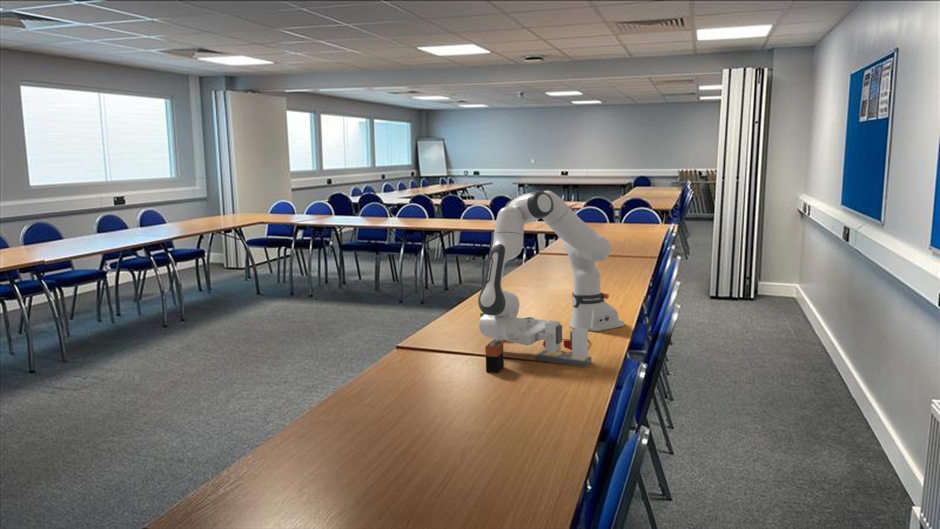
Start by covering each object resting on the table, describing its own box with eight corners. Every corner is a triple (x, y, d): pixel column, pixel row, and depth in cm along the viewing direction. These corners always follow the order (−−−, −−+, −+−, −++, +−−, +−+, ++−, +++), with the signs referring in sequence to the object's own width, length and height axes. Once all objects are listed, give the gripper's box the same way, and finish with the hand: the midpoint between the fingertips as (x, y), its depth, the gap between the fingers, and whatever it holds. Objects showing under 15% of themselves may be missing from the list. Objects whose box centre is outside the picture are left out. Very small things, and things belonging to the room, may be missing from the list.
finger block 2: (570, 358, 224) (569, 329, 223) (574, 354, 227) (574, 326, 226) (583, 360, 222) (582, 331, 220) (587, 356, 225) (587, 328, 223)
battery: (504, 367, 224) (503, 338, 222) (498, 373, 218) (497, 344, 216) (492, 366, 226) (491, 338, 224) (485, 372, 219) (484, 343, 218)
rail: (536, 360, 230) (536, 354, 230) (544, 355, 235) (544, 349, 235) (584, 367, 221) (584, 361, 220) (591, 362, 226) (591, 356, 225)
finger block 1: (545, 350, 229) (544, 323, 227) (550, 347, 232) (549, 320, 231) (557, 352, 226) (557, 324, 225) (562, 349, 230) (562, 322, 228)
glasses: (542, 351, 242) (542, 338, 241) (554, 339, 257) (553, 326, 256) (579, 354, 237) (579, 340, 236) (589, 341, 252) (589, 329, 251)
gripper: (505, 328, 226) (541, 333, 219) (532, 315, 243) (567, 319, 236) (506, 346, 227) (541, 351, 220) (533, 332, 244) (567, 336, 237)
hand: (555, 335), depth 228 cm, fingers closed on finger block 1, 4 cm apart
